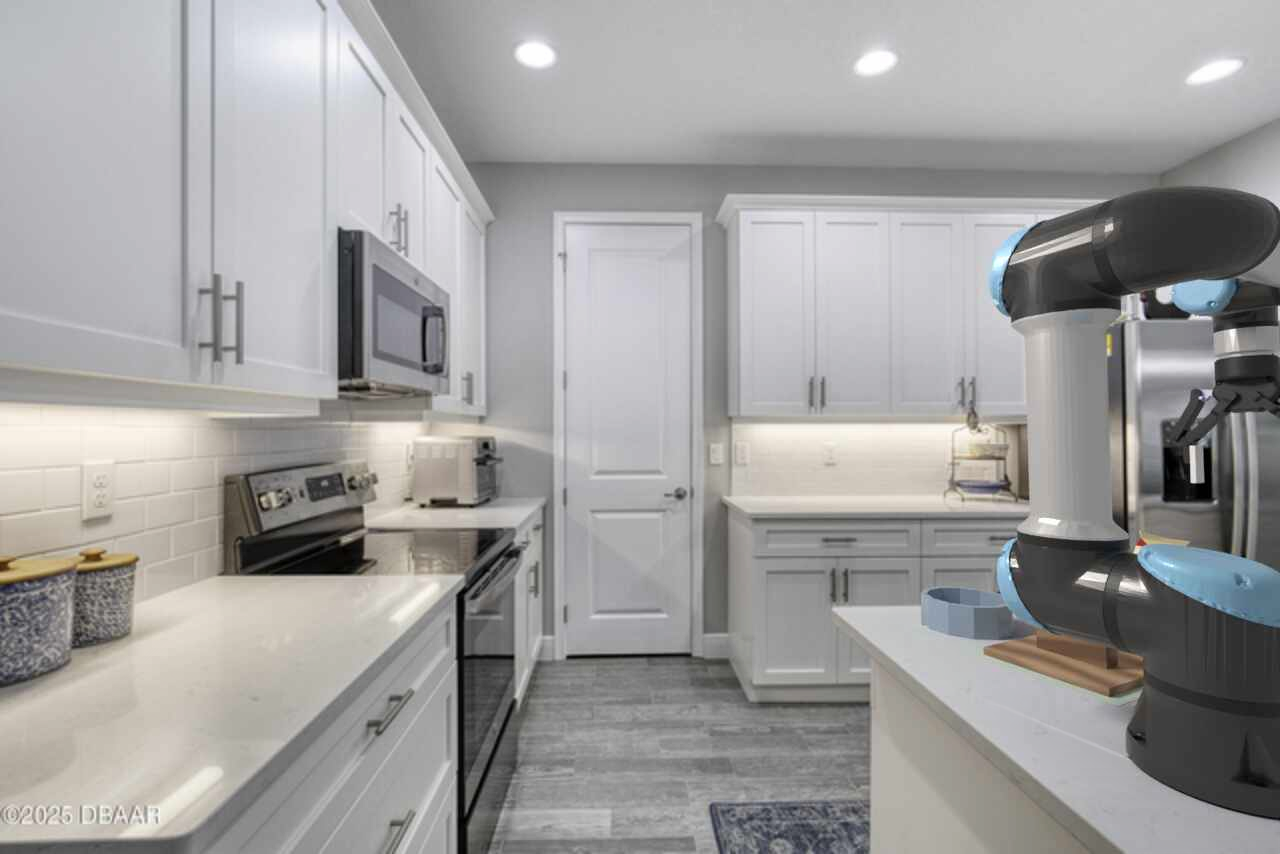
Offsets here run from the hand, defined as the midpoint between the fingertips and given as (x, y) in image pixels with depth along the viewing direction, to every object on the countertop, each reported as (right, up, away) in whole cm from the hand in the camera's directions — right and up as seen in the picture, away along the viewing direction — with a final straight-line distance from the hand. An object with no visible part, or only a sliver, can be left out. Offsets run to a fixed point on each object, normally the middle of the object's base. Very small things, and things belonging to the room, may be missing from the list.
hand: (1250, 485), depth 95 cm
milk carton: (-12, -28, +3) cm, 31 cm away
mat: (-32, -28, -4) cm, 42 cm away
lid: (-32, -28, -4) cm, 42 cm away
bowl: (-38, -29, +15) cm, 50 cm away
